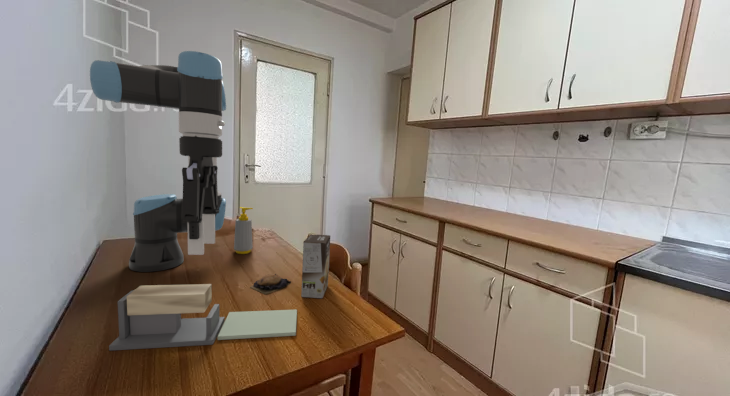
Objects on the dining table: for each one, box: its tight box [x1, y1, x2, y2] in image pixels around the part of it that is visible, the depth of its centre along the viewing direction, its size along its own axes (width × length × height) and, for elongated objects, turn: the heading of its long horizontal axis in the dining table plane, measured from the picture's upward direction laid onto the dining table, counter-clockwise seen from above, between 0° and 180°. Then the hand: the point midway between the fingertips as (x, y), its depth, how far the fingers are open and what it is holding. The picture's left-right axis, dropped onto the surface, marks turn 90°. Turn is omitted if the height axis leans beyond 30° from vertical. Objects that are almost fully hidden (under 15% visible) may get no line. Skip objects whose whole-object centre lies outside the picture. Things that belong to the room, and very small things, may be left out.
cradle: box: [108, 289, 225, 351], centre depth 63 cm, size 9×18×9 cm, turn 101°
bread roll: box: [249, 273, 292, 295], centre depth 91 cm, size 11×8×4 cm
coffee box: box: [300, 233, 331, 299], centre depth 88 cm, size 9×6×16 cm
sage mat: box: [217, 308, 298, 341], centre depth 69 cm, size 10×16×1 cm, turn 101°
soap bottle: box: [233, 206, 254, 255], centre depth 118 cm, size 7×7×18 cm
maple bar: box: [127, 283, 213, 315], centre depth 63 cm, size 5×14×4 cm, turn 101°
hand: (202, 248), depth 63 cm, fingers open, 7 cm apart
